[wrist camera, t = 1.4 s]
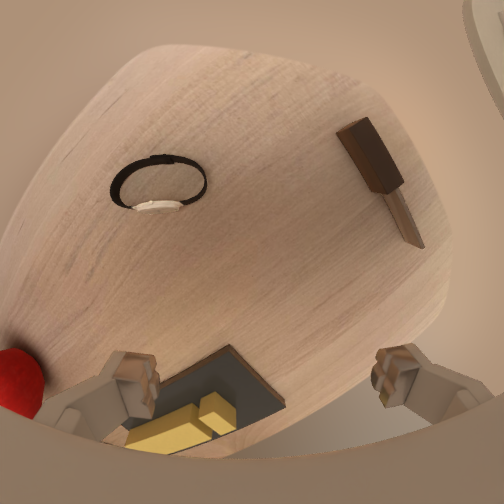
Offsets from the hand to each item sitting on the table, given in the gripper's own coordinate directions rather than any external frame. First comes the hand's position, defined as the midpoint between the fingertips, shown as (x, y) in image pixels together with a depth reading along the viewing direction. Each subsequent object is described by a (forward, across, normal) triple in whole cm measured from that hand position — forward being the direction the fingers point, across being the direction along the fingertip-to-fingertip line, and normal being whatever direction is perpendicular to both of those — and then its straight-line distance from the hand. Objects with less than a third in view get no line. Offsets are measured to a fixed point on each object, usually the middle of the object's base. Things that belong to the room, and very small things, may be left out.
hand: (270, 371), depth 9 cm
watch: (+15, +7, -6) cm, 18 cm away
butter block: (+14, +10, +21) cm, 27 cm away
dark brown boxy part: (+15, -11, -6) cm, 20 cm away
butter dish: (+15, +7, +19) cm, 25 cm away
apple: (+15, +29, +15) cm, 36 cm away
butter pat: (+14, +3, +16) cm, 21 cm away
